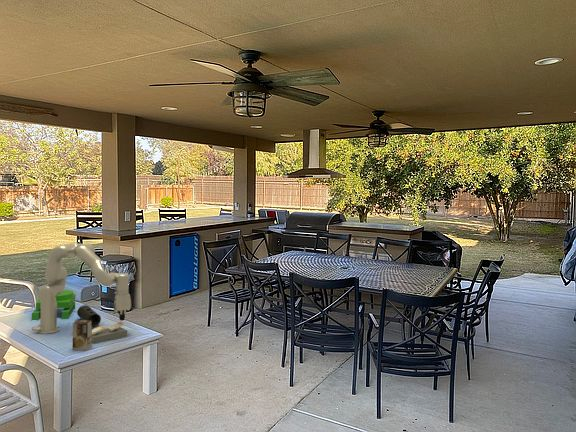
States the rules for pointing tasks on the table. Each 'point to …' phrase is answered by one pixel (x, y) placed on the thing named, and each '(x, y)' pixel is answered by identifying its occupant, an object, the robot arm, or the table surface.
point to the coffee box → (82, 335)
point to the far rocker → (115, 326)
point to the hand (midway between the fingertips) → (122, 319)
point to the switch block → (108, 335)
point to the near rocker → (98, 329)
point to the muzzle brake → (89, 315)
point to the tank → (59, 305)
